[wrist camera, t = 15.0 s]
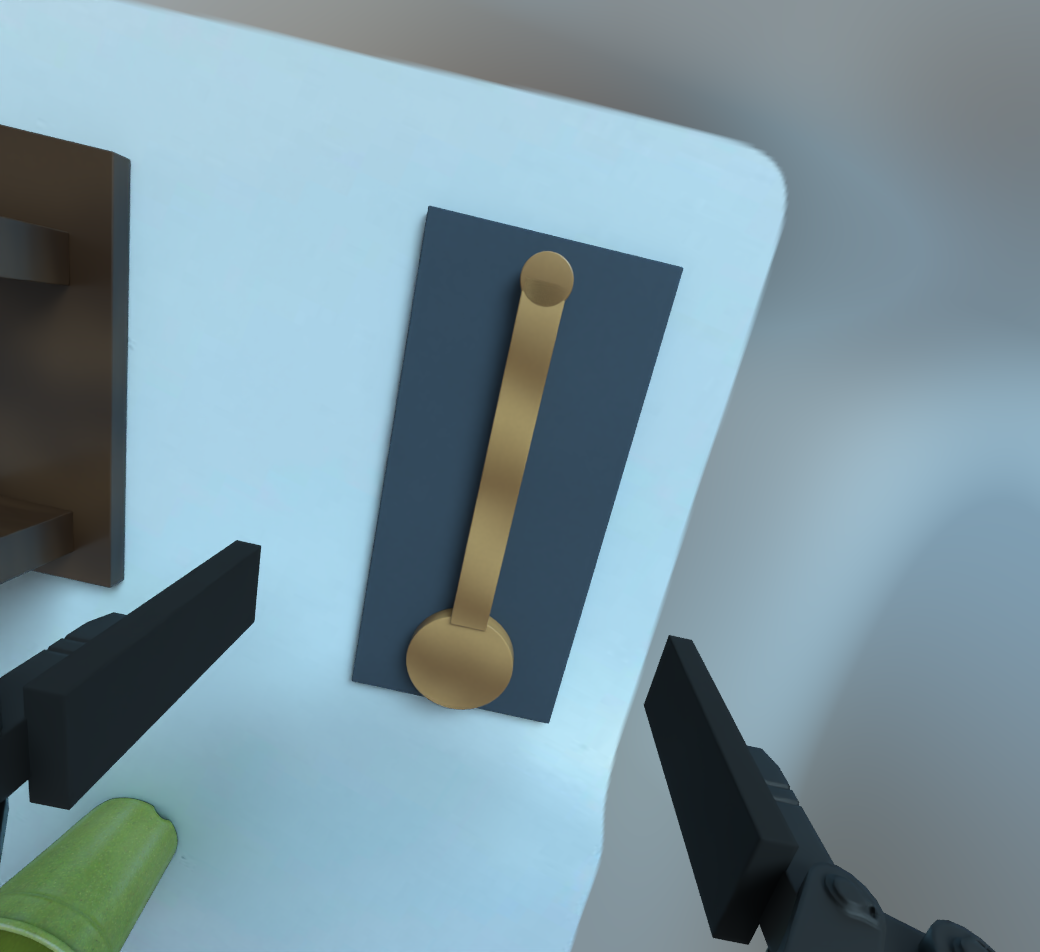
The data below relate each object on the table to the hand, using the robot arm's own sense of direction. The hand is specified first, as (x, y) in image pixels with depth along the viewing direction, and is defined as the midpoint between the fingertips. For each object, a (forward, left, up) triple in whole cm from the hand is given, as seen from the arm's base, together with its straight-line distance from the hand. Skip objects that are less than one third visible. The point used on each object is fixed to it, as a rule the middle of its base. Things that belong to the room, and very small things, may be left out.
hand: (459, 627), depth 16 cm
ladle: (-1, 0, -11) cm, 11 cm away
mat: (-1, 0, -12) cm, 12 cm away
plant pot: (+28, -19, -12) cm, 36 cm away
